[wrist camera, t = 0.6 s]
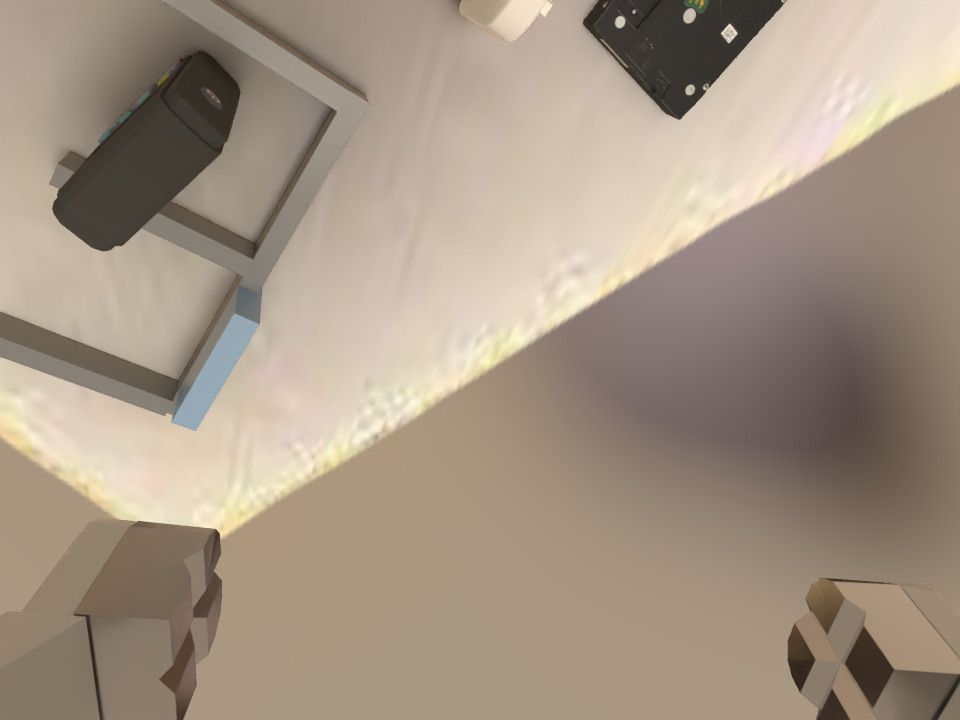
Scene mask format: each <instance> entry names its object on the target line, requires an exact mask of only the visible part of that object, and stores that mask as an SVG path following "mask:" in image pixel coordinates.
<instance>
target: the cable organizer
mask: <svg viewBox="0 0 960 720" xmlns="http://www.w3.org/2000/svg"><path fill="white" fill-rule="evenodd" d="M551 1H552V0H461V3H460V6H459V13H460V14H461V15H463V16H464V17H465V18H467V19H468V20H469V21H470V22H472V23H473V24H474V25H476V26H477V27H478V28H480V29H482V30H484V31H486V32H488V33H490V34H492V35H494V36H496V37H498V38H500V39H502V40H504V41H506V42H512V41H514V40H516V39H517V38H518V37H519V36H520V35H522V34H523V33H524V32H525V30H526V29H527V28H528V27H529V26H530V25H531V23H532V22H533V21H534V20H535V18H536V17H537V16H538V14H539V13H540V14H542V15H543V16H544V17H545V16H546V14H547V13H548V11H549V10H550V8H551V7H552V5H551V4H550V3H549V2H551Z"/></svg>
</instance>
